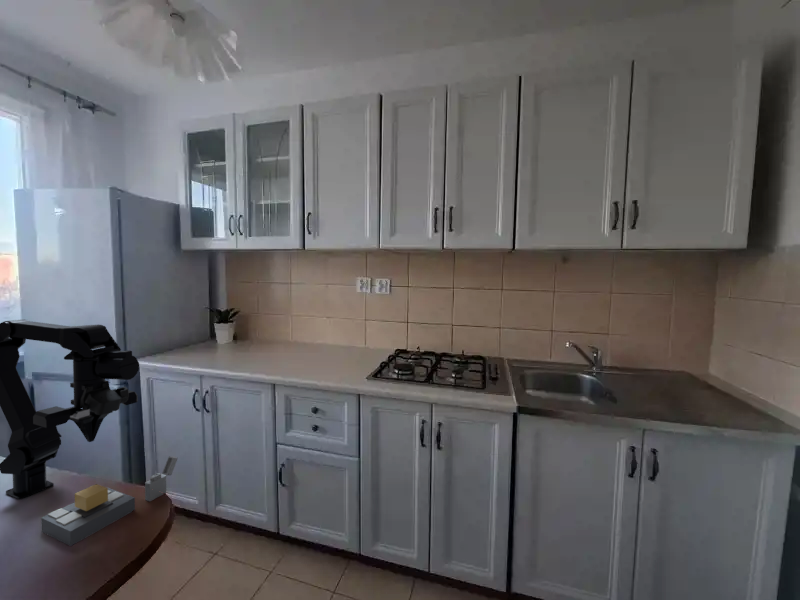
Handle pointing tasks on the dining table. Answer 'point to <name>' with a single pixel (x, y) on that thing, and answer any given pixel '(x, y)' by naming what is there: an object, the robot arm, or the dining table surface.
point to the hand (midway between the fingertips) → (90, 441)
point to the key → (91, 497)
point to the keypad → (86, 518)
